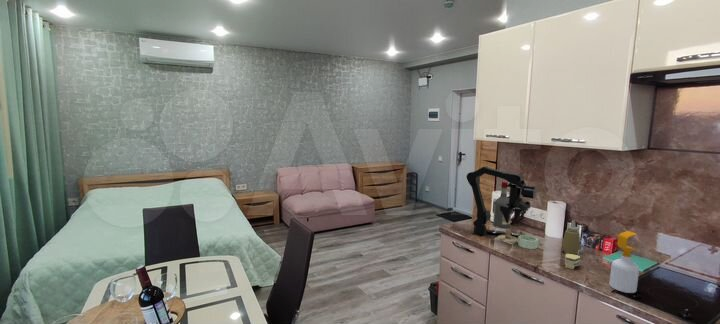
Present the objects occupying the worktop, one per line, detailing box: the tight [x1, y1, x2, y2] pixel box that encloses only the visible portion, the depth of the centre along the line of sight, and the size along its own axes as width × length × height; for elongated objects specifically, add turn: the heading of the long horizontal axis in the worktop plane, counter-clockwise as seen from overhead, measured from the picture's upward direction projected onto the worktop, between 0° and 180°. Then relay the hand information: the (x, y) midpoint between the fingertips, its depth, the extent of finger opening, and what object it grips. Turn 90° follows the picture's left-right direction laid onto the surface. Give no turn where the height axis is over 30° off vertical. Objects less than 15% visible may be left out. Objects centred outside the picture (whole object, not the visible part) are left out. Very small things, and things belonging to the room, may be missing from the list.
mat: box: [493, 236, 517, 245], centre depth 198 cm, size 11×11×1 cm
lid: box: [497, 228, 518, 244], centre depth 197 cm, size 11×11×6 cm
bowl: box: [517, 234, 540, 250], centre depth 188 cm, size 10×10×5 cm
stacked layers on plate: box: [564, 253, 581, 270], centre depth 162 cm, size 10×9×6 cm
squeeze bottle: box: [561, 219, 581, 255], centre depth 178 cm, size 8×8×18 cm
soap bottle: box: [609, 230, 640, 294], centre depth 140 cm, size 9×9×25 cm
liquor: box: [492, 181, 512, 229], centre depth 222 cm, size 9×9×30 cm
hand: (511, 221), depth 193 cm, fingers open, 9 cm apart
